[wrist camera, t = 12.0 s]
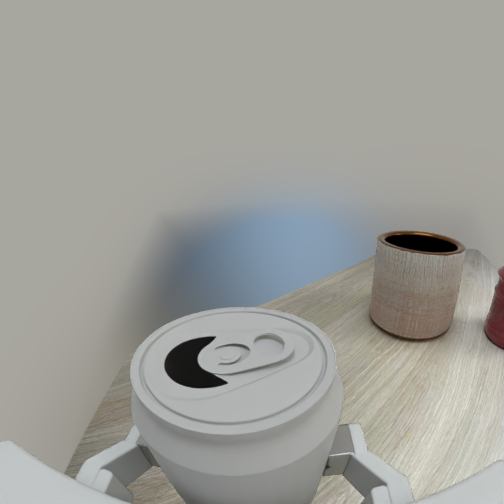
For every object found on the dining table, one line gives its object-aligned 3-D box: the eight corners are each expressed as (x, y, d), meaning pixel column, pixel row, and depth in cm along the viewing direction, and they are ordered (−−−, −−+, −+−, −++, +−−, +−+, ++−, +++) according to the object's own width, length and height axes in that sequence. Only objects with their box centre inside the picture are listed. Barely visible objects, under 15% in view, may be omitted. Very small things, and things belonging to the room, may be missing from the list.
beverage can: (191, 470, 12) (132, 310, 9) (289, 452, 14) (296, 288, 11) (206, 552, 6) (93, 452, 3) (326, 526, 8) (402, 390, 5)
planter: (454, 309, 45) (467, 238, 41) (441, 353, 33) (464, 261, 29) (386, 292, 57) (392, 226, 53) (353, 326, 46) (360, 242, 42)
